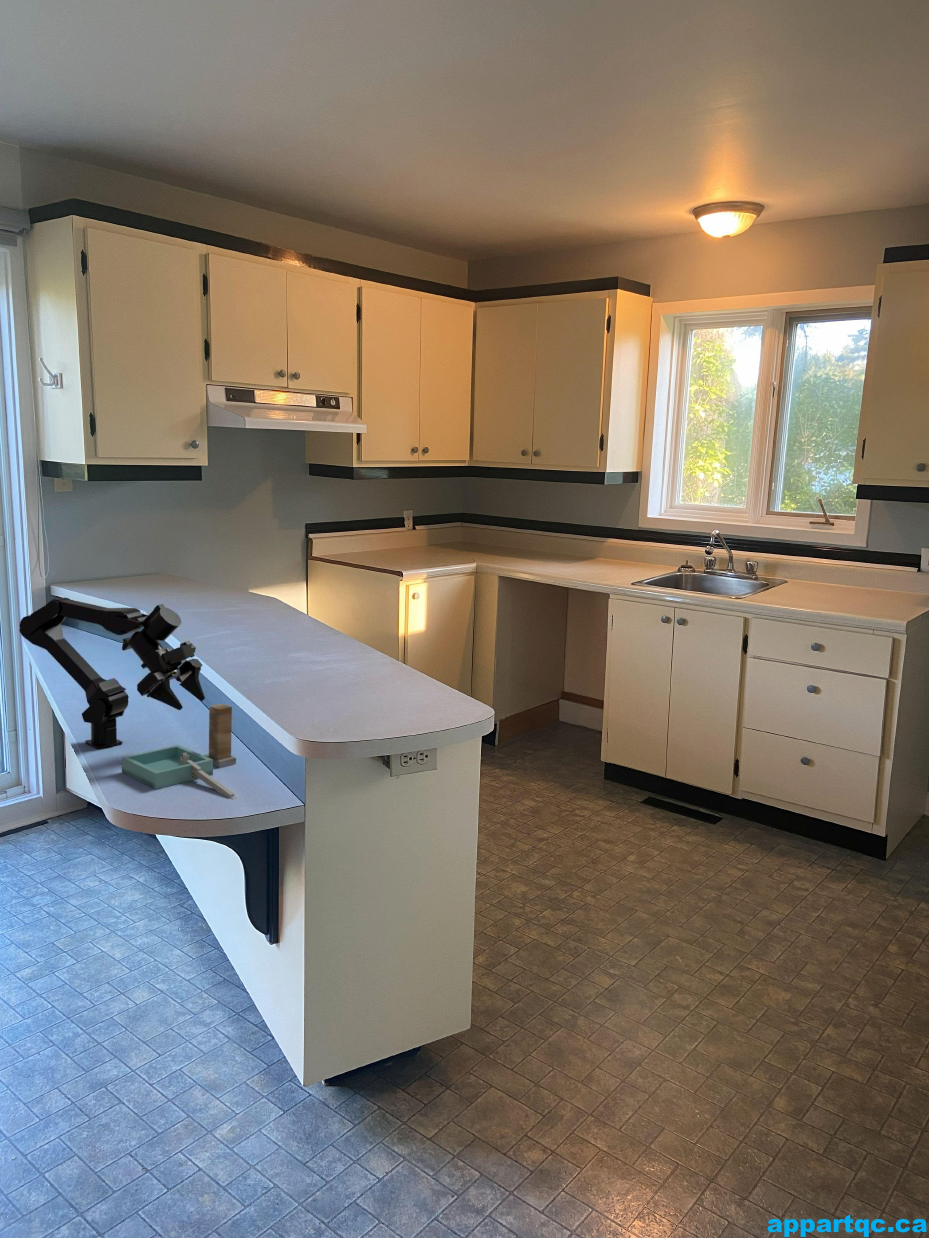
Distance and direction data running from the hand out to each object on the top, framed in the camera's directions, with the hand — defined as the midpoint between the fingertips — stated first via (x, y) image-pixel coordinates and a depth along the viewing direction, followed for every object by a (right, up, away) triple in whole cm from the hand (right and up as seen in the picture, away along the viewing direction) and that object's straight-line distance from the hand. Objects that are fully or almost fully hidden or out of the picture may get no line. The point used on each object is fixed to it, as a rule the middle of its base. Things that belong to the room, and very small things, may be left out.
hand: (192, 704), depth 207 cm
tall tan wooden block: (+6, -14, 0) cm, 15 cm away
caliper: (+8, -17, -15) cm, 24 cm away
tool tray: (-3, -15, -9) cm, 17 cm away
